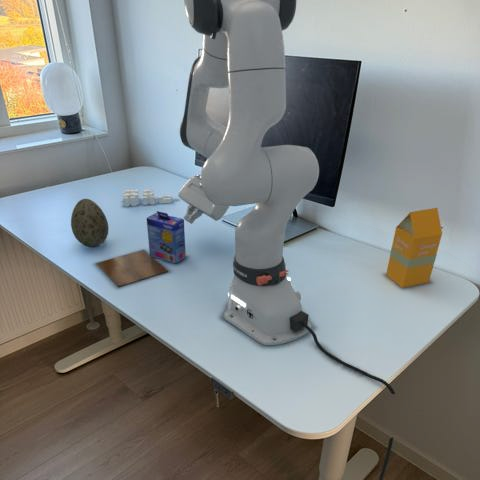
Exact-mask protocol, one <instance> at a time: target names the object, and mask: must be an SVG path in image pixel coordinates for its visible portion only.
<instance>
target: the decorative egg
mask: <svg viewBox="0 0 480 480" xmlns="http://www.w3.org/2000/svg"><path fill="white" fill-rule="evenodd" d="M70 218H71V219H70V228H71V231H72V235H73V236H74V238H75V239H76V240H77V241H78V243H80V244H81V245H83V246H86V247H87V248H97V247H99V246H101V245H102V244H104V242H105V241H106V240H107V238H108V235H109V223H108V222H109V221H108V219H107V216H106V215H105V213H104V211H103V209H102V208H101V207H100V206H99V204H97V203H96V202H95V201H94V200H92V199H90V198H82V199H80V200H78V202H77V203H76V204H75V205H74V207H73V210H72V213H71V217H70Z"/></svg>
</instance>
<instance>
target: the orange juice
mask: <svg viewBox="0 0 480 480" xmlns="http://www.w3.org/2000/svg"><path fill="white" fill-rule="evenodd" d="M442 235H443V230H442V226H441V220H440V215H439V208H438V207H433V208H427V209H421V210H414V211H409V213H408V214H407V215H406V216H405V217H404V219H403V220H401V222H399V224H398V225H397V226H395V230H394V234H393V239H392V245H391V249H390V253H389V259H388V264H387V268H386V273H385V276H387V277H388V279H390V280H391V281H393V282H394V283H395V284H396V285H398V286H399V287H401V288H402V289H404V288H409V287H414V286H418V285H422V284H427V283H430V280H431V276H432V272H433V269H434V265H435V262H436V258H437V254H438V250H439V247H440V243H441V241H442V240H441V239H442Z"/></svg>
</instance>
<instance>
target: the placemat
mask: <svg viewBox="0 0 480 480" xmlns="http://www.w3.org/2000/svg"><path fill="white" fill-rule="evenodd" d="M96 265H97V266H98V268H100V270H102V272H104V274H105V275H106V276H107V277H108V279H109V280H111V281H112V282H113V283H114V284H115V286H116V287H117V288H122V287H124V286H127V285H130V284H133V283H137V282H140V281H143V280H146V279H149V278H153V277H156V276H159V275H163V274H165V273H168V272H169V270H168V269H166V267H164V266H163V265H162V264H161V263H160V262H158V261H157V260H156V259H155V257H153V256H150V253H148V252H147V251H146V250H144V249H142V250H138V251H135V252H131V253H128V254H127V253H126V254H124V255H120V256H117V257H113V258H110V259H106V260H103V261H98V262H96Z"/></svg>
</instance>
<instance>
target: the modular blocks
mask: <svg viewBox="0 0 480 480" xmlns="http://www.w3.org/2000/svg"><path fill="white" fill-rule="evenodd" d="M122 193H123V195H122V200H123V205H124V207H125V208H127V207H130V206H131V207H136V206H140V195H139V189H137V188H136V189H132V190H131V189H125V190H123V192H122ZM141 196H142V205H143V206H148V205H151V206H152V205H156V201H155V192H154V189H144V190H142V193H141ZM170 196H171V195H169V194H168V195H157V198H158V200H157V201H158V204H159V205H161V204H172V202H173V200H172V197H170Z"/></svg>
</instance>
